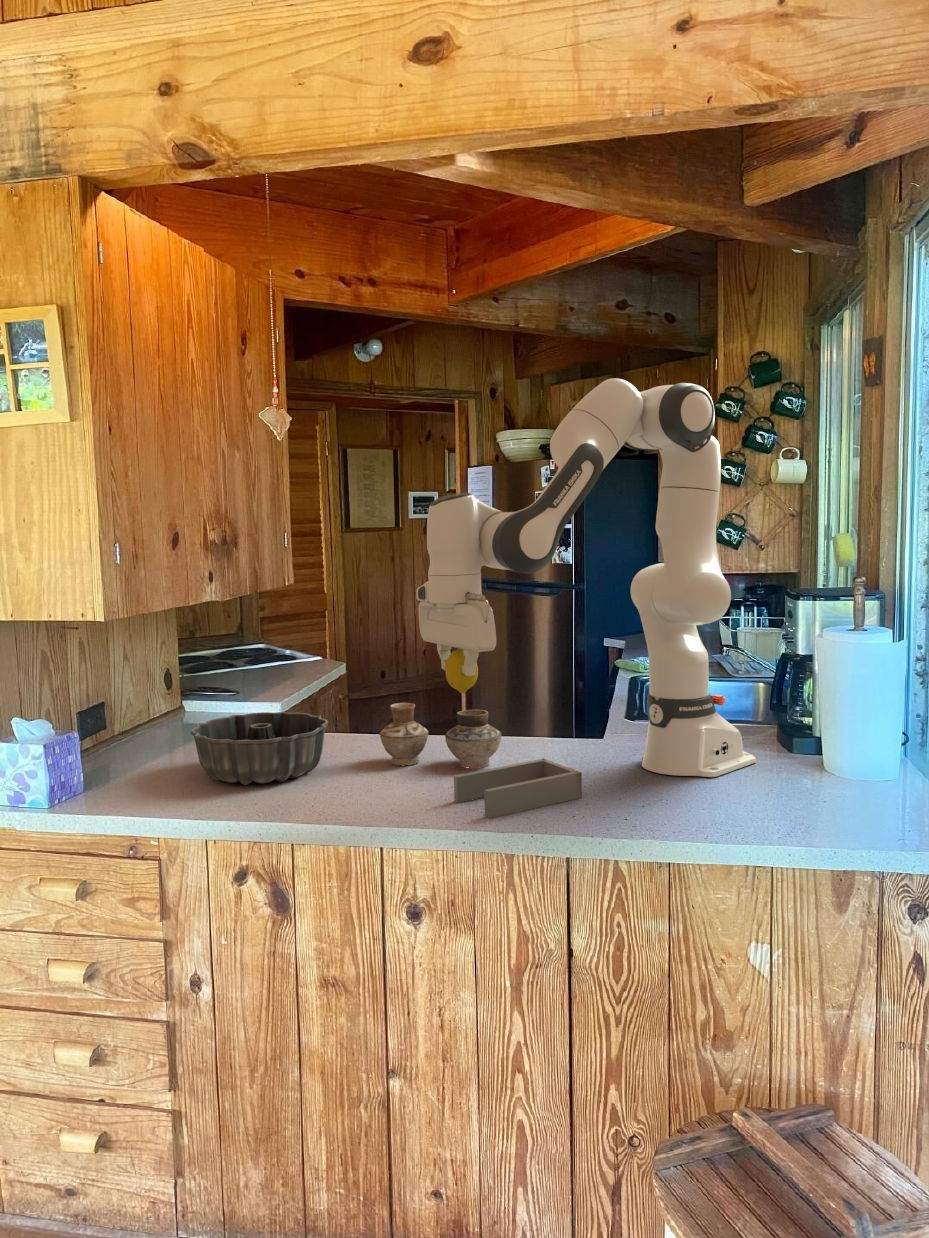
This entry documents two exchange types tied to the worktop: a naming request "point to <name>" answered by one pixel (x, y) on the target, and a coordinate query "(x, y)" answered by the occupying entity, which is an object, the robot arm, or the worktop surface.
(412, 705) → the pottery
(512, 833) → the worktop surface
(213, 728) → the bundt pan
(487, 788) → the trough
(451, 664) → the lemon
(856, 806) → the worktop surface
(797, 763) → the worktop surface
